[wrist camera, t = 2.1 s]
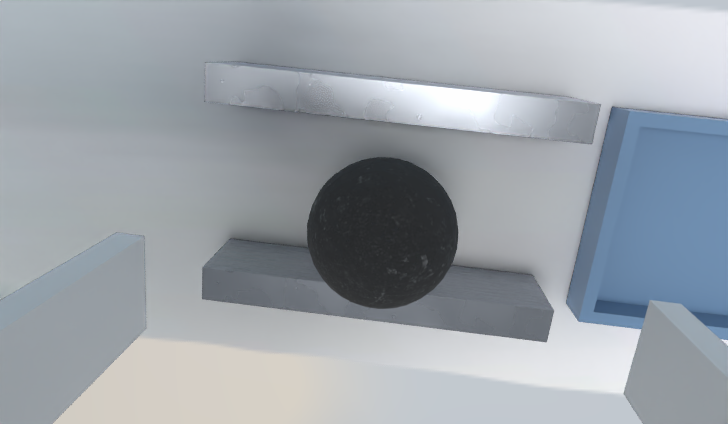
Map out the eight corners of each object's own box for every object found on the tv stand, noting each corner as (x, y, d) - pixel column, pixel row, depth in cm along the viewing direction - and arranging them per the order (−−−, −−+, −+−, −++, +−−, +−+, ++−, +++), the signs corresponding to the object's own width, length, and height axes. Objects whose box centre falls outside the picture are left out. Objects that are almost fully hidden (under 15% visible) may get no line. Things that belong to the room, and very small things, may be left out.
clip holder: (229, 266, 28) (202, 299, 24) (235, 61, 25) (204, 62, 21) (527, 302, 28) (546, 342, 24) (570, 96, 25) (600, 104, 21)
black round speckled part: (443, 130, 25) (468, 174, 16) (443, 239, 27) (465, 339, 17) (329, 133, 26) (285, 178, 16) (335, 240, 27) (299, 339, 18)
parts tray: (566, 303, 27) (578, 321, 26) (612, 106, 25) (629, 111, 23) (804, 332, 27) (835, 353, 25) (881, 135, 24) (922, 142, 22)
